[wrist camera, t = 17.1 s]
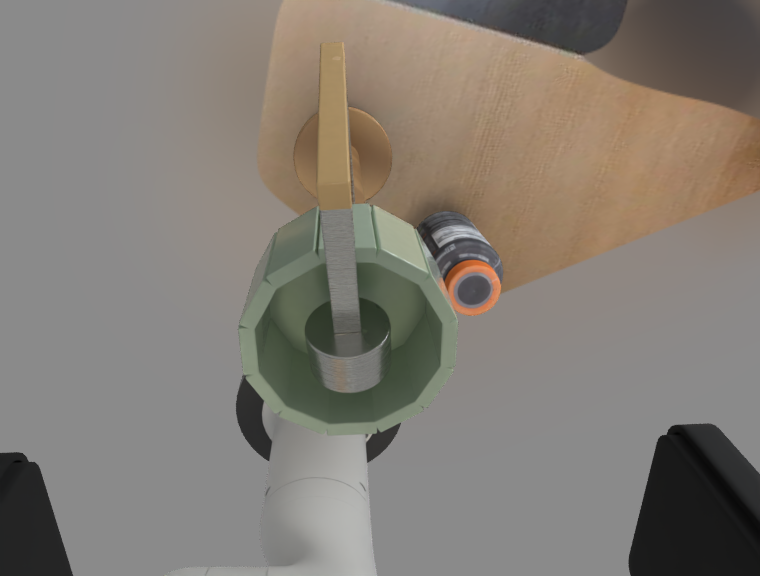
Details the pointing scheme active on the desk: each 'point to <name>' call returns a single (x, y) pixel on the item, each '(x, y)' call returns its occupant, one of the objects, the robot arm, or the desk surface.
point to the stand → (366, 155)
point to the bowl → (375, 282)
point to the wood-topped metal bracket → (342, 253)
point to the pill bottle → (463, 261)
